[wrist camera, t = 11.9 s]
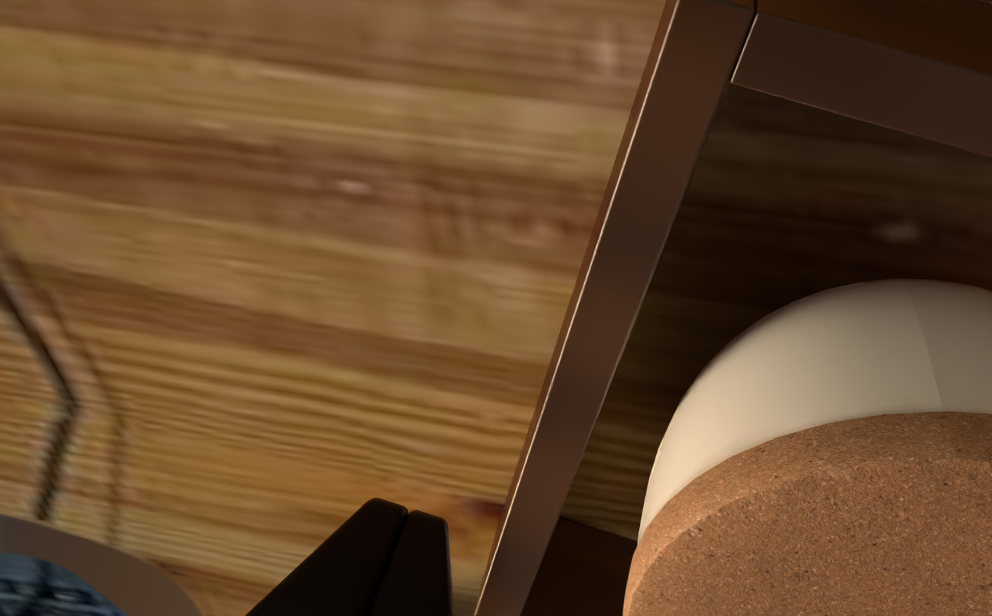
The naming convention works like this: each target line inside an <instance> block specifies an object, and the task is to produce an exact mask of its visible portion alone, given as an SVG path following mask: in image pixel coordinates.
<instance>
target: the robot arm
mask: <svg viewBox="0 0 992 616" xmlns="http://www.w3.org/2000/svg"><path fill="white" fill-rule="evenodd" d="M245 616H454V609H453V594H452V579H451V564H450V549H449V534H448V525H447V522H446V521H445V520H444V519H443V518H441V517H438V516H434V515H431V514H428V513H425V512H422V511H418V510H414V511H411V512H410V513H409V514H408V509H407V508H406V507H404V506H402V505H399V504H396V503H393V502H390V501H387V500H383V499H380V498H373V499H371V500H369V501H368V502H366V503H365V504H364V505H363V506H362V507H361V508H360V509H359V510H358V511H356V512H355V513H354V514H353V515H352V516H351V517H350V518H349V519H348V520H347V521H346V522H345V523H344V524H343V525H342V526H340V527H339V528H338V529H337V530H336V531H335V532H334V533H333V534H332V535H331V536H330V537H329V538H328V539H327V540H325V541H324V542H323V543H322V544H321V545H320V546H319V547H318V548H317V549H316V550H315V551H314V552H313V553H312V554H311V555H309V556H308V557H307V558H306V559H305V560H304V561H303V562H302V563H301V564H300V565H299V566H298V567H297V568H296V569H294V570H293V571H292V572H291V573H290V574H289V575H288V576H287V577H286V578H285V579H284V580H283V581H282V582H281V583H280V584H278V585H277V586H276V587H275V588H274V589H273V590H272V591H271V592H270V593H269V594H268V595H267V596H266V597H265V598H263V599H262V600H261V601H260V602H259V603H258V604H257V605H256V606H255V607H254V608H253V609H252V610H251V611H250V612H249V613H247V614H246V615H245Z"/></svg>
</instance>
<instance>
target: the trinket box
mask: <svg viewBox="0 0 992 616" xmlns="http://www.w3.org/2000/svg"><path fill="white" fill-rule="evenodd" d="M623 616H992V291H990V290H986V289H983V288H979V287H974V286H970V285H966V284H959V283H952V282H945V281H938V280H931V279H887V280H877V281H866V282H859V283H854V284H849V285H845V286H840V287H836V288H831V289H827V290H824V291H821V292H818V293H815V294H812V295H809V296H807V297H804V298H801V299H798V300H795V301H793V302H791V303H789V304H787V305H785V306H783V307H781V308H779V309H777V310H775V311H774V312H772V313H770V314H768V315H766V316H765V317H763V318H761V319H760V320H758V321H757V322H756V323H754V324H753V325H751V326H750V327H748V328H747V329H745V330H744V331H743V332H741V333H740V334H738V335H737V336H735V337H734V338H733V339H731V340H730V341H729V342H728V343H727V344H726V345H725V346H724V347H723V348H722V349H721V350H720V351H719V352H718V353H717V354H716V355H715V356H714V357H713V358H712V359H711V360H710V361H709V362H708V364H707V365H706V366H705V367H704V369H703V370H702V371H701V372H700V374H699V375H698V376H697V378H696V379H695V380H694V382H693V383H692V384H691V386H690V387H689V389H688V390H687V391H686V393H685V394H684V395H683V397H682V398H681V401H680V403H679V405H678V407H677V409H676V411H675V413H674V416H673V418H672V420H671V422H670V424H669V426H668V429H667V431H666V433H665V435H664V437H663V440H662V442H661V444H660V446H659V448H658V452H657V455H656V458H655V462H654V465H653V468H652V472H651V475H650V478H649V483H648V488H647V492H646V497H645V502H644V507H643V513H642V519H641V525H640V530H639V536H638V544H637V548H636V550H635V552H634V554H633V558H632V562H631V567H630V572H629V576H628V581H627V586H626V592H625V599H624V607H623Z"/></svg>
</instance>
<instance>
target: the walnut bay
mask: <svg viewBox="0 0 992 616" xmlns="http://www.w3.org/2000/svg"><path fill="white" fill-rule="evenodd" d="M729 80H730V83H732V84H734V85H738V86H741V87H745V88H748V89H752V90H755V91H759V92H763V93H766V94H770V95H773V96H777V97H780V98H784V99H787V100H791V101H794V102H798V103H802V104H805V105H809V106H812V107H816V108H819V109H823V110H826V111H830V112H833V113H837V114H841V115H844V116H848V117H851V118H855V119H858V120H862V121H865V122H869V123H872V124H876V125H880V126H883V127H887V128H890V129H894V130H897V131H901V132H904V133H908V134H911V135H915V136H919V137H922V138H926V139H929V140H933V141H936V142H940V143H943V144H947V145H950V146H954V147H958V148H961V149H965V150H968V151H972V152H975V153H979V154H982V155H986V156H989V157H992V4H988V3H985V2H981V1H977V0H667V1H666V5H665V8H664V11H663V14H662V17H661V20H660V23H659V26H658V29H657V33H656V36H655V39H654V42H653V45H652V48H651V51H650V54H649V57H648V60H647V64H646V67H645V70H644V73H643V76H642V79H641V82H640V85H639V88H638V92H637V95H636V98H635V101H634V104H633V107H632V110H631V113H630V116H629V120H628V123H627V126H626V129H625V132H624V135H623V138H622V141H621V144H620V147H619V151H618V154H617V157H616V160H615V163H614V166H613V169H612V172H611V175H610V179H609V182H608V185H607V188H606V191H605V194H604V197H603V200H602V203H601V207H600V210H599V213H598V216H597V219H596V222H595V225H594V228H593V231H592V235H591V238H590V241H589V244H588V247H587V250H586V253H585V256H584V259H583V262H582V266H581V269H580V272H579V275H578V278H577V281H576V284H575V287H574V290H573V294H572V297H571V300H570V303H569V306H568V309H567V312H566V315H565V318H564V322H563V325H562V328H561V331H560V334H559V337H558V340H557V343H556V346H555V349H554V353H553V356H552V359H551V362H550V365H549V368H548V371H547V374H546V377H545V381H544V384H543V387H542V390H541V393H540V396H539V399H538V402H537V405H536V409H535V412H534V415H533V418H532V421H531V424H530V427H529V430H528V433H527V436H526V440H525V443H524V446H523V449H522V452H521V455H520V458H519V461H518V464H517V468H516V471H515V474H514V477H513V480H512V483H511V486H510V489H509V492H508V496H507V499H506V502H505V505H504V508H503V511H502V514H501V517H500V520H499V524H498V527H497V531H496V534H495V538H494V541H493V545H492V548H491V552H490V556H489V559H488V563H487V566H486V570H485V574H484V577H483V581H482V584H481V588H480V592H479V595H478V599H477V602H476V606H475V609H474V613H473V616H623V607H624V599H625V592H626V586H627V581H628V576H629V572H630V567H631V562H632V558H633V554H634V552H635V550H636V548H637V544H638V542H635V541H632V540H628V539H625V538H622V537H619V536H616V535H612V534H609V533H606V532H603V531H599V530H596V529H593V528H590V527H587V526H583V525H580V524H577V523H574V522H571V521H567V520H564V519H561V518H559V516H560V514H561V511H562V509H563V506H564V504H565V501H566V498H567V496H568V493H569V491H570V488H571V486H572V483H573V480H574V478H575V475H576V473H577V470H578V468H579V465H580V463H581V460H582V457H583V455H584V452H585V450H586V447H587V445H588V442H589V439H590V437H591V434H592V432H593V429H594V427H595V424H596V421H597V419H598V416H599V414H600V411H601V409H602V406H603V403H604V401H605V398H606V396H607V393H608V391H609V388H610V386H611V383H612V380H613V378H614V375H615V373H616V370H617V368H618V365H619V362H620V360H621V357H622V355H623V352H624V350H625V347H626V344H627V342H628V339H629V337H630V334H631V332H632V329H633V326H634V324H635V321H636V319H637V316H638V314H639V311H640V309H641V306H642V303H643V301H644V298H645V296H646V293H647V291H648V288H649V285H650V283H651V280H652V278H653V275H654V273H655V270H656V267H657V265H658V262H659V260H660V257H661V255H662V252H663V249H664V247H665V244H666V242H667V239H668V237H669V234H670V232H671V229H672V226H673V224H674V221H675V219H676V216H677V214H678V211H679V208H680V206H681V203H682V201H683V198H684V196H685V193H686V190H687V188H688V185H689V183H690V180H691V178H692V175H693V173H694V170H695V167H696V165H697V162H698V160H699V157H700V155H701V152H702V149H703V147H704V144H705V142H706V139H707V137H708V134H709V131H710V129H711V126H712V124H713V121H714V119H715V116H716V113H717V111H718V108H719V106H720V103H721V101H722V98H723V96H724V93H725V90H726V88H727V85H728V83H729Z"/></svg>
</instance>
